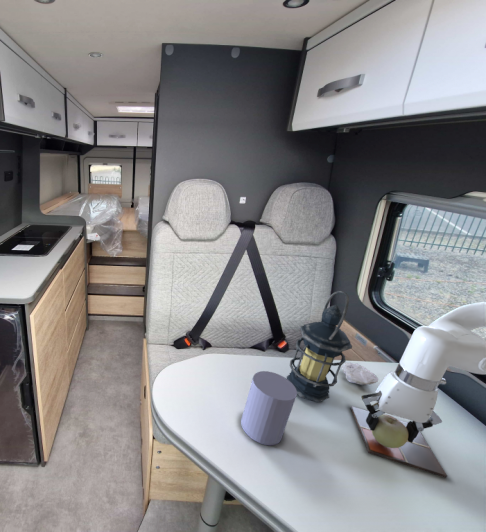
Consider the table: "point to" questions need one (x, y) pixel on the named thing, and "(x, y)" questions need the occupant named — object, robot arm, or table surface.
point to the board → (407, 454)
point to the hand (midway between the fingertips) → (388, 431)
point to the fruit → (390, 432)
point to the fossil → (358, 374)
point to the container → (268, 407)
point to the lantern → (320, 353)
